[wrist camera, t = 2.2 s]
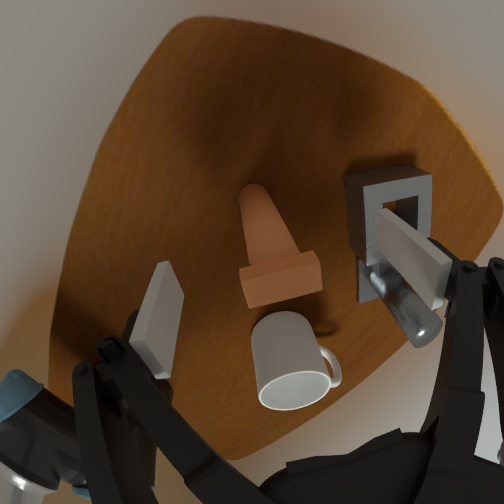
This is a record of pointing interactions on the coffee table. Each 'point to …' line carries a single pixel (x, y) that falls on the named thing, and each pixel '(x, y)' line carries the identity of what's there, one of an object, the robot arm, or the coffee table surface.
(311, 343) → the cup
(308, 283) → the wedge pin
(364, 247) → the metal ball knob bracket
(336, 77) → the coffee table surface
